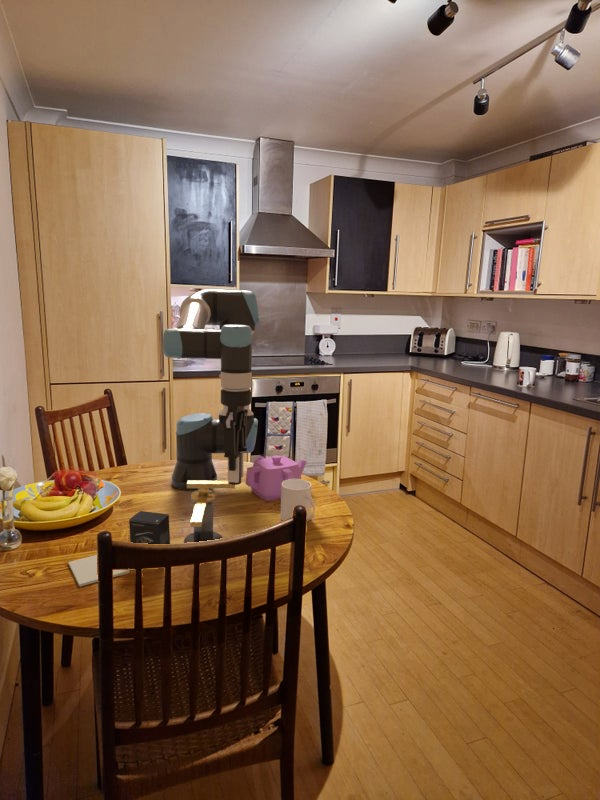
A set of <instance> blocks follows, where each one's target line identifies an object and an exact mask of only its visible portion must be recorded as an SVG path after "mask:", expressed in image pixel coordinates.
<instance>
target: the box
mask: <svg viewBox="0 0 600 800" xmlns="http://www.w3.org/2000/svg"><path fill="white" fill-rule="evenodd" d="M128 524H129V539H130V542H133V543H148V544H170V545H171V535H170V534H171V532H170V515H169V513H162V512H161V513H160V512H152V511H145V510H140V511H138V512H137V513H135V514H134V515H133V516H132V517H130V518H129V520H128Z"/></svg>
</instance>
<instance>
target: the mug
mask: <svg viewBox="0 0 600 800" xmlns="http://www.w3.org/2000/svg"><path fill="white" fill-rule="evenodd" d="M297 505H302V506H305V507H306V508H307V522H308V521H311V520H312V519H313V518H314V516H315V513H316V512H315V510H316V505H315V501H314V499H313V497H312V483H311V482H310V481H308V480H306V479H303V478H301V479H288V480H285V481H283V482H282V487H281V499H280V519H281V520H282V521H283V520H285V519H288V518H290V517H291V516H292V513H293V508H294V507H295V506H297ZM311 506H312V514H311Z"/></svg>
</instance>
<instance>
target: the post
mask: <svg viewBox="0 0 600 800" xmlns="http://www.w3.org/2000/svg"><path fill="white" fill-rule="evenodd" d="M192 502H193V501H192ZM192 504H193V509H194V508H195V505H196V502H193V503H192ZM220 538H223V536H222V534H220V533H218V532H216V531H214V501H212V502H209V503H207V505H206V509H205V513H204V517H203V521H202V526H201V527H193V532H192V533H189V534H187V536H185V537H184V540H183V544H184V543H187V542H199V541H207V540H215V539H220ZM223 539H224V538H223Z"/></svg>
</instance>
